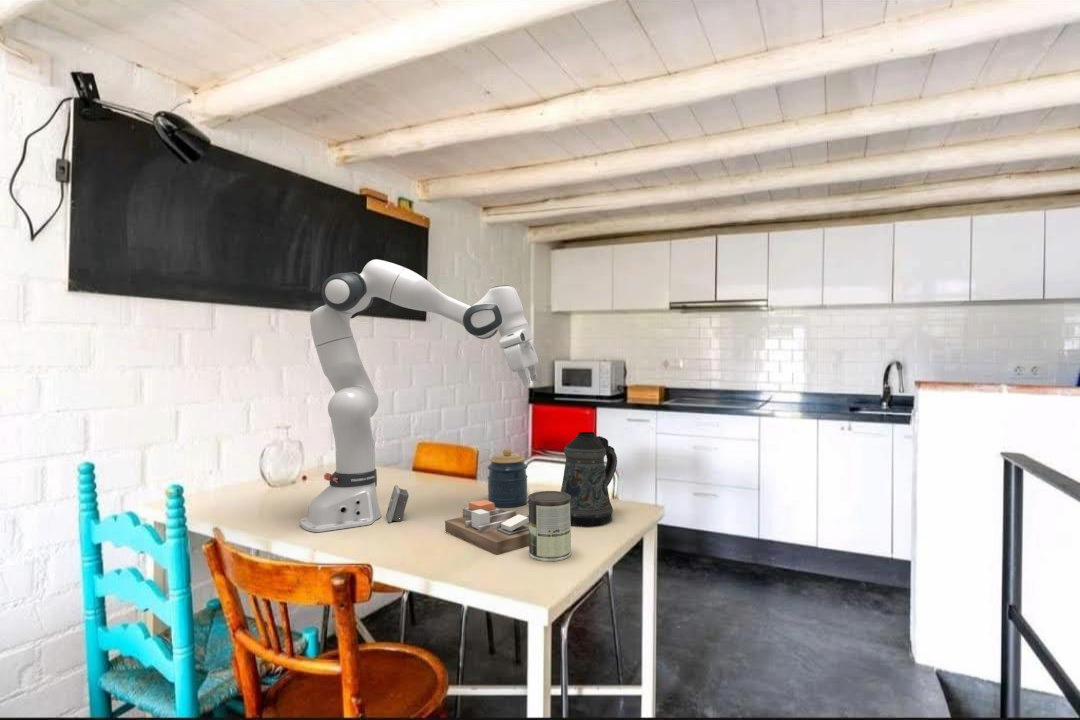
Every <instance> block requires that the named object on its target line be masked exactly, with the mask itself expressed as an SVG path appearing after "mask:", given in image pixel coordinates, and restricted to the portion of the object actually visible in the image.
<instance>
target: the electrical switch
mask: <svg viewBox="0 0 1080 720" xmlns="http://www.w3.org/2000/svg"><path fill="white" fill-rule="evenodd" d="M408 500H409V493H408V490H407V489H403V488H399V485H396V484H395V485H394V486H393V490H392V493H391V496H390V499H389V503H388V507H387V510H386V517H387V519H386V520H387V522H388V523H390V524H392V522H393V521H394V522H403V517H404V515H405V511H406V507H407V504H408V503H407V502H408ZM399 518H400V519H399Z"/></svg>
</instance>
